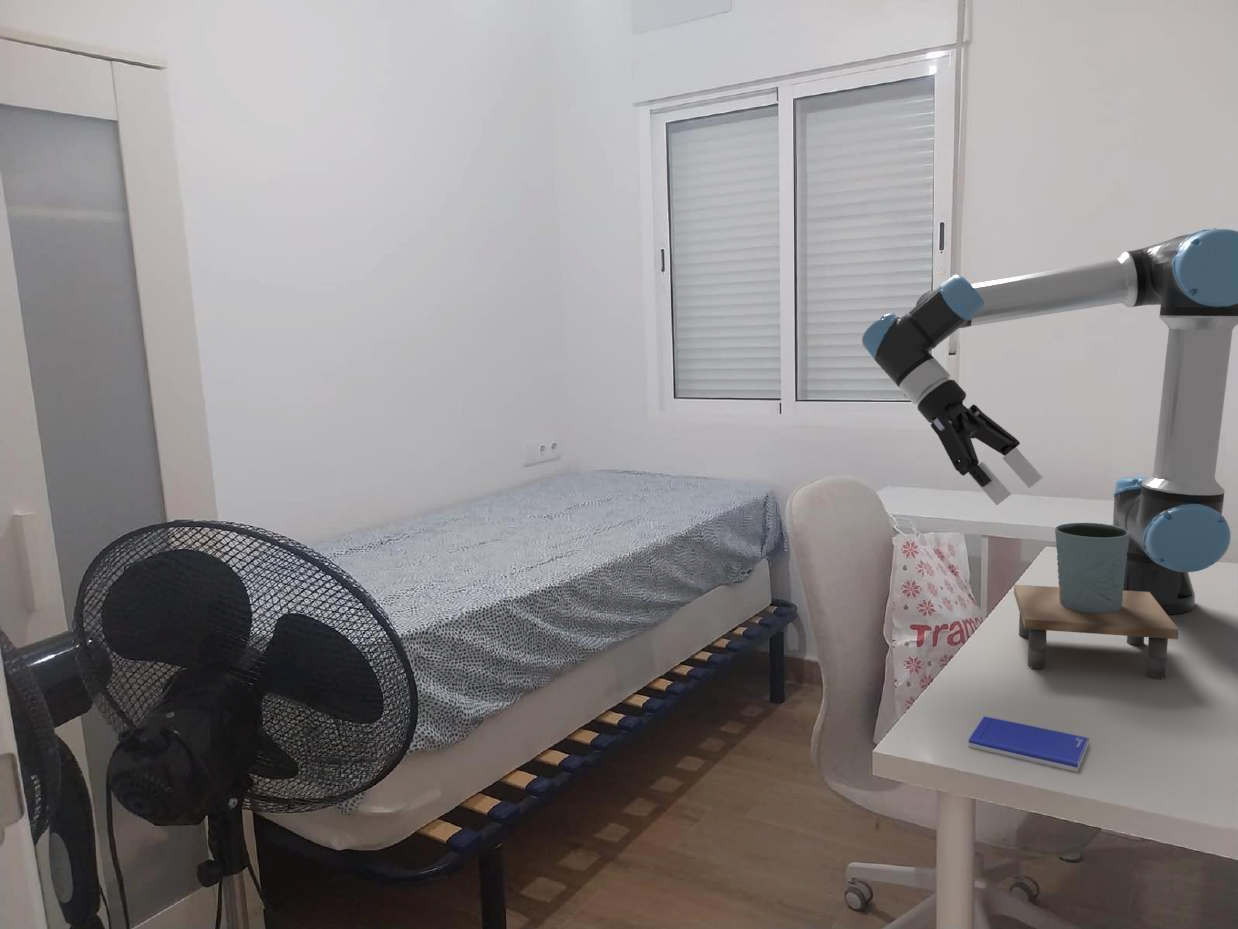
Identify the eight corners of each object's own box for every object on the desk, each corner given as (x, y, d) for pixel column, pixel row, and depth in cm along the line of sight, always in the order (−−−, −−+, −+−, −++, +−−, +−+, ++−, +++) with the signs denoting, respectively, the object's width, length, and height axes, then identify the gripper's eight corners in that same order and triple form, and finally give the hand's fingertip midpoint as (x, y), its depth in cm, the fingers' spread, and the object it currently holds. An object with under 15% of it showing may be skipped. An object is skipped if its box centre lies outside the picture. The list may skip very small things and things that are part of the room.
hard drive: (1089, 736, 113) (984, 714, 120) (1078, 763, 107) (968, 738, 114) (1088, 748, 113) (984, 725, 120) (1077, 776, 107) (968, 750, 114)
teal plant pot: (1135, 616, 135) (1140, 537, 133) (1062, 614, 137) (1065, 536, 135) (1113, 595, 145) (1117, 522, 143) (1044, 594, 147) (1047, 521, 145)
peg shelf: (1146, 639, 147) (1149, 591, 146) (1175, 682, 130) (1178, 629, 129) (1012, 630, 154) (1014, 584, 152) (1023, 670, 137) (1025, 619, 135)
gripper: (949, 397, 164) (1031, 489, 157) (882, 417, 146) (971, 521, 139) (980, 369, 159) (1065, 462, 152) (914, 386, 142) (1007, 493, 135)
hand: (1020, 491), depth 146 cm, fingers open, 13 cm apart
